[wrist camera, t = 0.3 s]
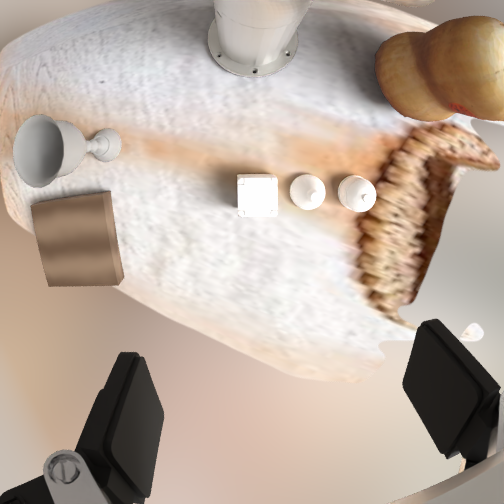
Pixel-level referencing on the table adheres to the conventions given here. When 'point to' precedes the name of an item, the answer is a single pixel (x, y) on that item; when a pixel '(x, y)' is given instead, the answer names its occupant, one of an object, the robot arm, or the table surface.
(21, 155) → the chalice
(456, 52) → the butternut squash
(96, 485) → the robot arm
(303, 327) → the table surface
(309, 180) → the container set
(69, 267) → the walnut plinth
